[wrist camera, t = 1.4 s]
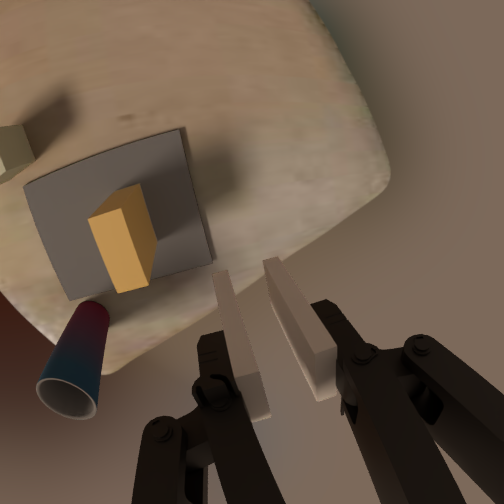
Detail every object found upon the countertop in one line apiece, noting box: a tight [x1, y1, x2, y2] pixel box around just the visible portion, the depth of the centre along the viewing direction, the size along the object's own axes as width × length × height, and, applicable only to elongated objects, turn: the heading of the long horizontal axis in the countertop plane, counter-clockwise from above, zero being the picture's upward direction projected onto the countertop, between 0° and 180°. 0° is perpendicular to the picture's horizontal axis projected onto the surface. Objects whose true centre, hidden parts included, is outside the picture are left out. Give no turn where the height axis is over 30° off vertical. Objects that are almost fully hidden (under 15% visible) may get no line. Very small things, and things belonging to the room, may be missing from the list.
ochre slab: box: [88, 183, 157, 293], centre depth 27 cm, size 7×3×10 cm, turn 11°
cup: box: [36, 301, 110, 420], centre depth 29 cm, size 7×7×15 cm
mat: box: [23, 129, 213, 301], centre depth 31 cm, size 16×20×1 cm
